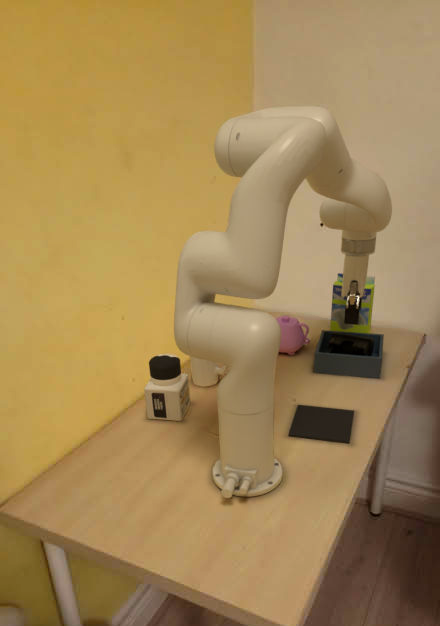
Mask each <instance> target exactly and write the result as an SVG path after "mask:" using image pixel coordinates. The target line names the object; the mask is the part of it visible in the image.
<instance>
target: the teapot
mask: <svg viewBox="0 0 440 626" xmlns="http://www.w3.org/2000/svg"><path fill="white" fill-rule="evenodd" d="M275 319H276V320H277V322H278V323H279V325H280V328H281V342H280V348H279V353H287V355H289V356H294V355H296V353H295V352H297V351H299V350H300V349H301V348H302V347H303V346H304V345H309V344H310V343H311V339H310V338H309V337H308V335H309V332H310V327H309V325H308V324H306V323H304V322H300V321H299V320H298V319H297V318H296V317H292V316H290V315H285V314H284V315H282V316H278V317H275ZM304 328H305V332H304V330H303V329H304Z"/></svg>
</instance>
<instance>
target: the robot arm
mask: <svg viewBox="0 0 440 626" xmlns="http://www.w3.org/2000/svg"><path fill="white" fill-rule="evenodd" d="M213 145H214V146H213V152H214V159H215V161H216V163H217V165H218V167H219V168H220V170H221V171H222V172H224V174H226V175H228V176H230V177H235V178H240V180H239V181H238V183H237V184H236V185H235V188H234V190H233V192H232V195H231V197H230V203H229V212H228V219H227V225H226V229H225V231H217V230H200V231H196V232H195V233H194V234H192V235H191V236H189V238H187V240H186V242H185V243H184V244H183V246H182V249H181V251H180V254H179V258H178V263H177V271H176V283H175V284H176V285H175V298H174V299H175V300H174V301H175V302H174V314H173V316H174V317H173V336H174V337H173V338H174V342H175V345H176V347H177V349H178V350H179V351H180V352H181V353H183V354H184V355H186V356H188V357H190V356H191V357H195V358H198V359H203V360H207V361H211V362H215V363H218V365H222V366H223V365H225V366H227V369H228V372H227V374H224V376H223V377H222V378H221V380H220V381H219V384H218V386H217V389H216V402H217V418H218V419H217V421H218V436H219V437H218V438H219V440H218V441H219V455H220V457H219V459H217V460H216V462H215V463H214V464H213V466H212V471H211V472H212V480H213V482H214V483H215V485H216V486H217V487H218V489H221V491H220V494H221V496H222V497H223V498H225V499H230V498H232V496H233V495H234V496H238V497H257V496H262V495H265V494H267V493H269V492H271V491H273V490H275V489H276V488H277V487H278V486H279V485H280V483H281V482H282V479H283V466H282V464H281V462H280V461H279V460H278V459H277V458H276V457H275V384H276V383H275V381H276V380H275V379H276V370H277V362H278V357H279V353H280V352H279V348H280V342H281V328H280V325H279V323H278V322H277V320H276V317H274V316H273V315H271V314H270V313H268V312H266V311H263V310H261V309H257V308H254V307H247V306H242V305H235V304H232V303H231V304H228V303H222V302H216V295H219V296H220V295H221V296H227V297H234V298H240V299H249V300H263V299H266V298H268V297H270V296H271V295H273V293H274V292H275V290H276V287H277V284H278V280H279V276H280V270H281V263H282V256H283V255H282V254H283V247H284V240H285V239H284V238H285V231H286V223H287V216H288V212H289V207H290V204H291V201H292V199H293V197H294V195H295V193H296V192H297V191H298V189H299V187H300V186H301V185H302V183H303V182H304V181H305V180H306V182H307V183H308V186H309V187H310V188H311V190H313V192H315V193H316V194H318V195H320V196H323V197H324V199H323V200H322V201H321V204H320V206H319V219H320V222H321V223H322V224H323V226H325V227H326V228H328V229H332V230H338V231H341V243H340V253H341V254H343V255H344V259H343V270H342V274H343V282H342V293H341V296H342V297H344V296H347V303H346V307H345V319H344V323H345V324H353V325H357V324H358V322H359V310H360V309H361V303H362V297H363V293H364V288H365V284H366V278H367V276H368V271H369V270H368V269H369V259H370V255H373V254H375V252H376V245H377V244H376V243H377V233H379V232H382V231H384V230H385V229H386V228H387V227H388V226H389V224H390V221H391V218H392V215H393V204H392V198H391V194H390V191H389V188H388V186H387V183H386V181H385V180H384V179H383V178H382V177H381V176H380V174H378V173H376V172H375V171H374V170H372V169H370V168H369V167H367V166H366V165H364V164H363V163H361V162H359V161H358V160H356V159H354V158H352V157H351V154H350V152H349V150H348V147H347V145H346V142H345V139H344V137H343V135H342V133H341V130H340V127H339V125H338V122H337V120H336V117H335V116H334V115H333V113H332V112H331V111H329V110H328V109H327V108H325V107H322V106H318V105H294V106H291V105H290V106H273V107H266V108H262V109H259V110H256V111H255V110H254V111H252V112H248V113H245V114H241V115H238V116H234V117H230V118H229V119H227V120H226V121H224V123H222V125H221V126H220V127H219V129H218V130H217V133H216V135H215V139H214V144H213Z"/></svg>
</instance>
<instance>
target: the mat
mask: <svg viewBox="0 0 440 626" xmlns="http://www.w3.org/2000/svg"><path fill="white" fill-rule="evenodd" d="M354 414H355V410H352V409H343V408H335V407H325V406H316V405H307V404H306V405H305V404H297V406H296V410H295V413H294V416H293V419H292V422H291V425H290V428H289V431H288V435H287V436H288V437H291V438H298V439H299V438H300V439H309V440H316V441H326V442H332V443H333V442H334V443H342V444H348V445H349V444H350V443H351V436H352V430H353V429H352V428H353V422H354V416H355V415H354Z"/></svg>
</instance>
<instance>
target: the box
mask: <svg viewBox="0 0 440 626" xmlns="http://www.w3.org/2000/svg"><path fill="white" fill-rule="evenodd" d="M375 279H376V276H375V275H367V278H366V284H365V288H364V293H363V297H362V303H361V309H360V310H359V322H358V324H357V325H353V324H345V323H344V319H345V307H346V303H347V296H344V297H342V296H341V293H342V282H343V272H342V273H341V272H338V273H337V280H335V281H334V282H333V284H332V297H331V298H332V299H331V308H330V309H331V310H330V323H329V331H341V332H356V333H371V328H372V317H373V307H374V297H375V286H376V285H375Z"/></svg>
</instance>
